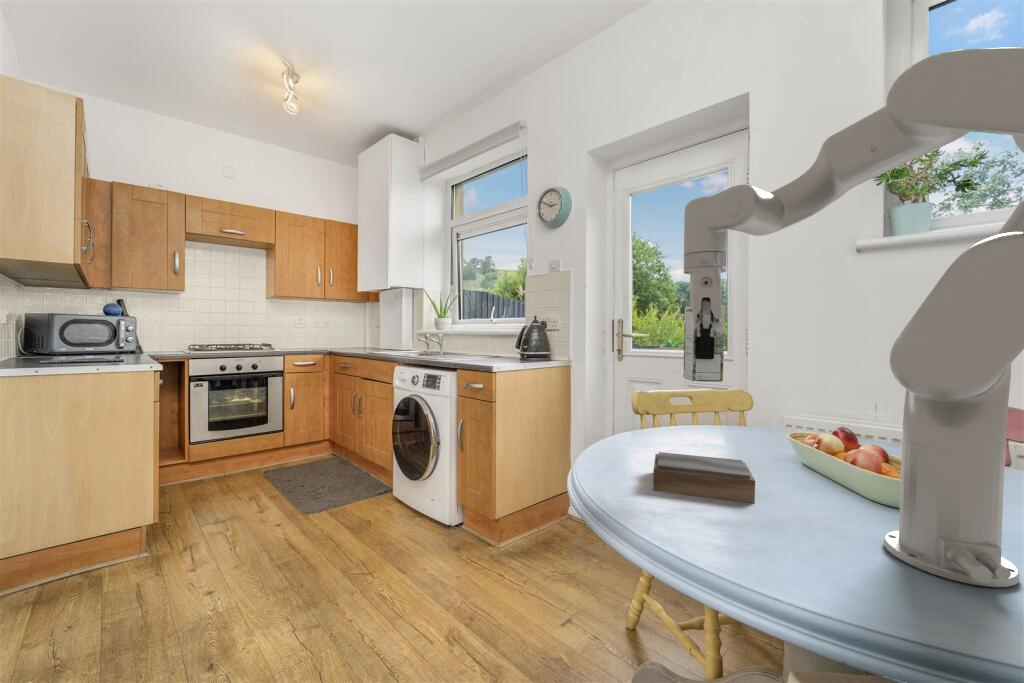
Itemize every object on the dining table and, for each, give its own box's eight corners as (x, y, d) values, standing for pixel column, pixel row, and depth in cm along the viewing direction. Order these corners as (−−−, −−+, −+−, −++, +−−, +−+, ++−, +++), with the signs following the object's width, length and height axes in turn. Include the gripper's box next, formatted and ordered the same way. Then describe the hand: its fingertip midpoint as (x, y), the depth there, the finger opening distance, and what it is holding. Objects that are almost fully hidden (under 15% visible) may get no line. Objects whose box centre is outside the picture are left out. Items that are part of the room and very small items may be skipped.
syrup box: (712, 378, 86) (713, 305, 86) (724, 382, 81) (725, 304, 80) (683, 378, 87) (684, 305, 87) (692, 382, 81) (693, 304, 81)
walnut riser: (754, 503, 76) (755, 477, 76) (653, 490, 82) (653, 466, 82) (744, 482, 87) (745, 459, 87) (655, 472, 93) (655, 450, 92)
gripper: (732, 256, 74) (730, 361, 74) (721, 269, 90) (719, 355, 91) (684, 258, 76) (683, 360, 77) (682, 271, 93) (681, 355, 93)
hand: (703, 357), depth 84 cm, fingers closed on syrup box, 6 cm apart
